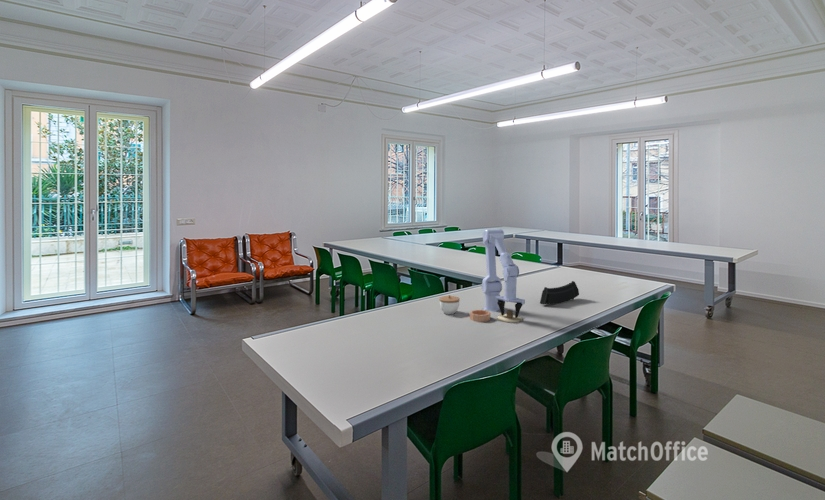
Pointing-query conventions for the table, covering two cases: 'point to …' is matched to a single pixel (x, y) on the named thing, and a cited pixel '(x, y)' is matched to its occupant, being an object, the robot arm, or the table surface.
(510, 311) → the lid
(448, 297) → the lidded jar
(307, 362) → the table surface
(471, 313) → the dish
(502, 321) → the mat
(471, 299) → the table surface
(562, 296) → the magazine
